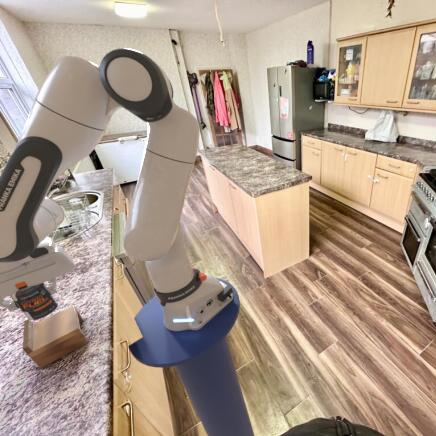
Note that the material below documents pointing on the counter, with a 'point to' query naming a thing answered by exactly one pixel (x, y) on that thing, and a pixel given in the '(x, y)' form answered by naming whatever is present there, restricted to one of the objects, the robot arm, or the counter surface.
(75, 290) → the counter surface
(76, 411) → the counter surface
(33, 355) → the tan scooped block
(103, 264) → the counter surface
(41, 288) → the pill bottle
